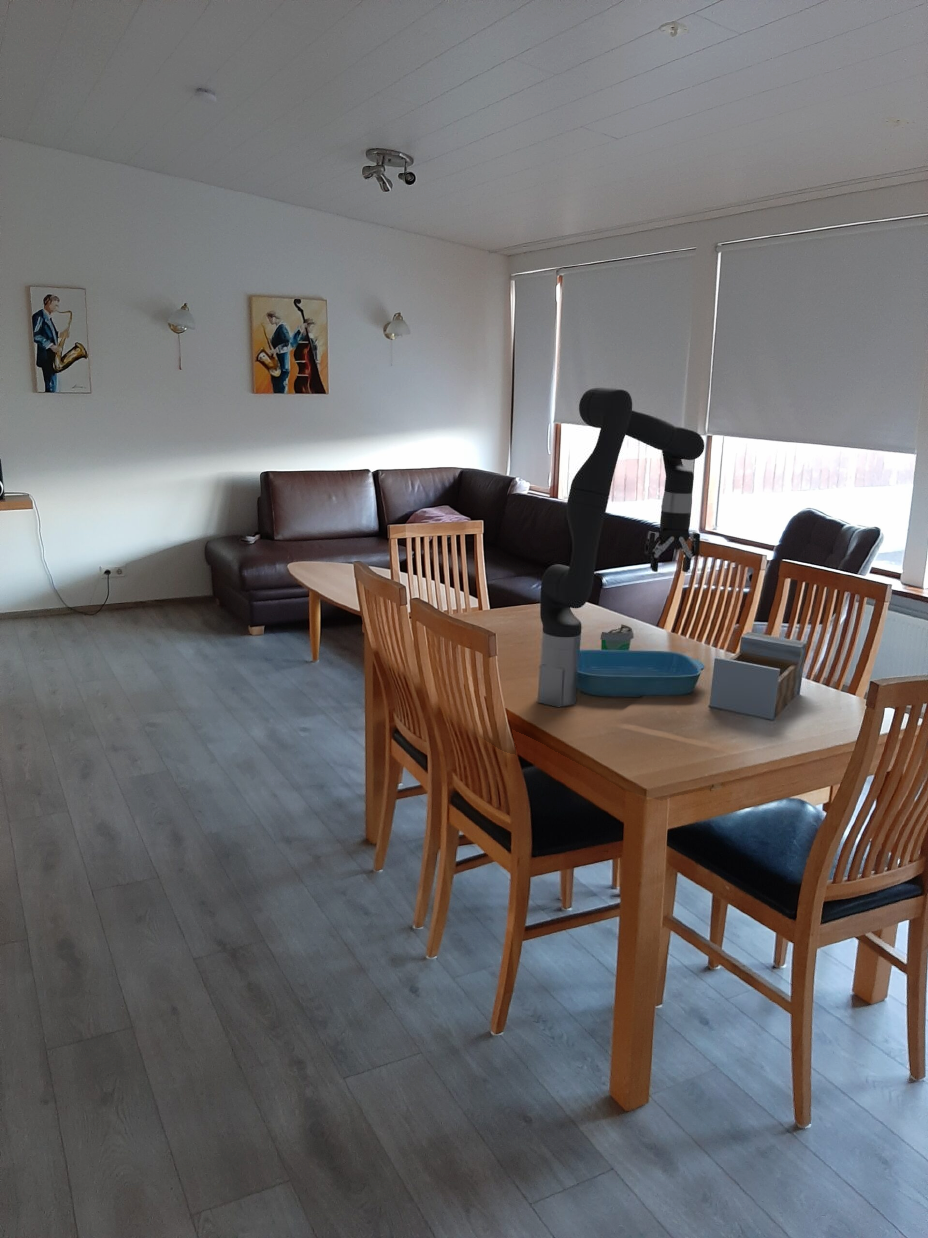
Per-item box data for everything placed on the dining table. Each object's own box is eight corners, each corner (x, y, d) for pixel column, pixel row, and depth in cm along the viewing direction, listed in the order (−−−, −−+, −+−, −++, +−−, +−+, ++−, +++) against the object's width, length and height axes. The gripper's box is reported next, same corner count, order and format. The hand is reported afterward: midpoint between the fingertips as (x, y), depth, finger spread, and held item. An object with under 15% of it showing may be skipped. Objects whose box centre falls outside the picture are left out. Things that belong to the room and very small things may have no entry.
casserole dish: (566, 700, 231) (568, 672, 229) (553, 672, 253) (554, 647, 251) (713, 703, 233) (716, 676, 232) (688, 675, 255) (690, 650, 253)
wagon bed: (773, 723, 221) (780, 665, 217) (710, 709, 228) (716, 653, 225) (799, 694, 242) (806, 642, 239) (741, 682, 250) (747, 631, 246)
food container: (618, 672, 255) (621, 636, 252) (598, 667, 258) (600, 632, 256) (639, 662, 264) (642, 628, 262) (619, 657, 268) (622, 623, 265)
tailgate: (773, 722, 219) (780, 670, 216) (707, 708, 227) (713, 657, 224) (774, 721, 220) (781, 669, 217) (709, 707, 228) (715, 656, 225)
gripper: (656, 511, 238) (650, 574, 242) (708, 512, 241) (701, 574, 245) (644, 507, 245) (638, 568, 249) (695, 508, 248) (688, 569, 252)
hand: (669, 571), depth 247 cm, fingers open, 8 cm apart
